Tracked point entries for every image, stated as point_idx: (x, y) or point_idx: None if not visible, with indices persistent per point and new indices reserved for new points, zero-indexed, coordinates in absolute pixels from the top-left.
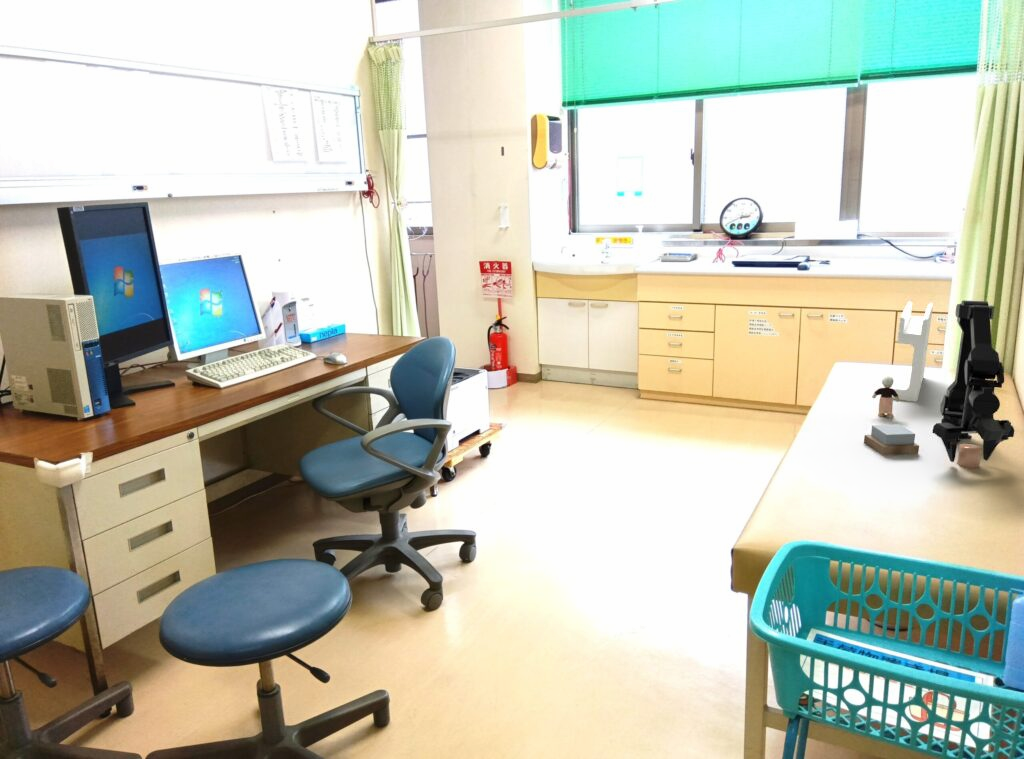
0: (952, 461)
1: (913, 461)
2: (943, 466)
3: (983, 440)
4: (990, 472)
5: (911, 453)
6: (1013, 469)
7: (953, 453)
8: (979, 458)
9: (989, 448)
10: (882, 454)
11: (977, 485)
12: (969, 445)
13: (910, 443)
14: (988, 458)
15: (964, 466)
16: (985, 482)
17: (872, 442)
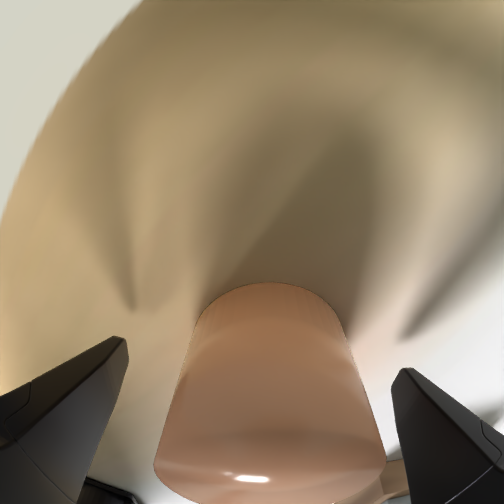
0: (414, 369)
1: (473, 403)
2: (440, 348)
3: (77, 495)
4: (216, 166)
5: (401, 462)
6: (19, 193)
7: (459, 410)
8: (231, 342)
9: (64, 414)
10: None
11: (496, 31)
12: (244, 500)
13: (401, 499)
14: (101, 343)
15: (339, 323)
16: (430, 23)
17: None
